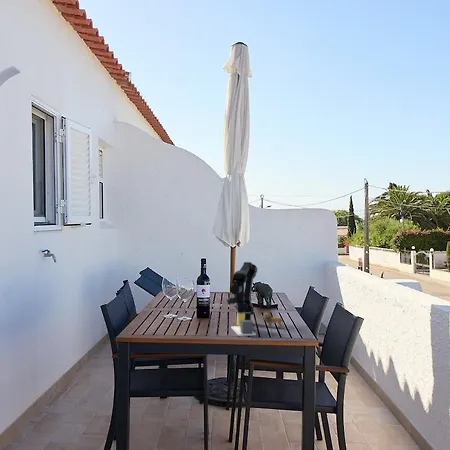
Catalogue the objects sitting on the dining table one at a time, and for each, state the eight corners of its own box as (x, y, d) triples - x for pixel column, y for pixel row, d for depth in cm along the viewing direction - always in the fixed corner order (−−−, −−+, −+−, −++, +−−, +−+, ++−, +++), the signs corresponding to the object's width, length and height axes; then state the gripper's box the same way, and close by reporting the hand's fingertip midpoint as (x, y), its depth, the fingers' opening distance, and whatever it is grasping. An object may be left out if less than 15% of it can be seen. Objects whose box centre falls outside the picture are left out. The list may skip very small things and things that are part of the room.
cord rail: (231, 328, 296) (231, 315, 296) (246, 327, 298) (246, 314, 298) (239, 335, 274) (239, 322, 274) (255, 335, 276) (256, 321, 276)
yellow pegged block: (236, 324, 293) (237, 312, 293) (243, 324, 294) (243, 312, 294) (238, 325, 289) (238, 313, 289) (245, 325, 290) (245, 313, 290)
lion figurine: (262, 327, 298) (262, 313, 298) (264, 326, 303) (264, 311, 304) (284, 329, 293) (285, 314, 293) (286, 327, 298) (286, 313, 298)
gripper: (224, 290, 304) (223, 315, 303) (230, 294, 285) (229, 320, 285) (241, 290, 306) (240, 314, 306) (248, 294, 287) (247, 320, 287)
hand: (239, 317), depth 296 cm, fingers closed
